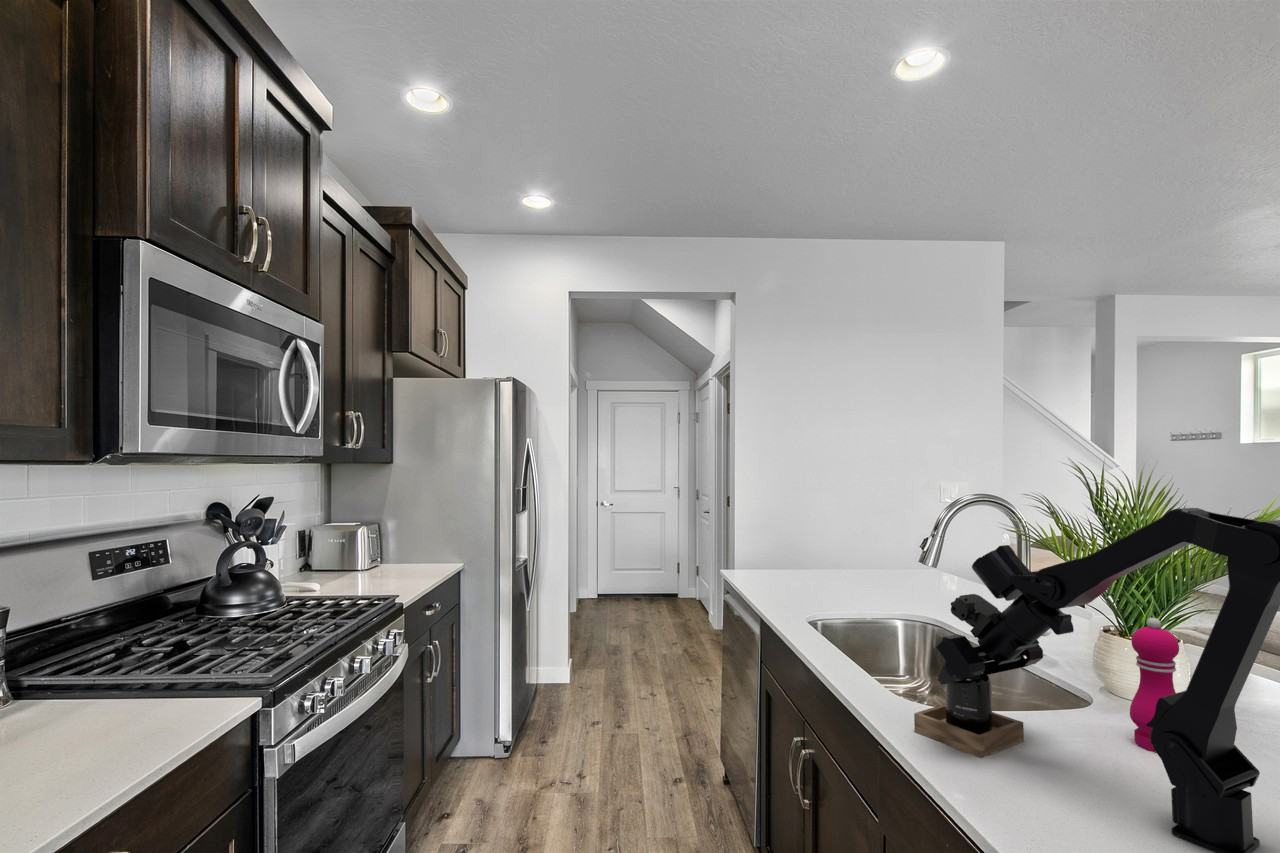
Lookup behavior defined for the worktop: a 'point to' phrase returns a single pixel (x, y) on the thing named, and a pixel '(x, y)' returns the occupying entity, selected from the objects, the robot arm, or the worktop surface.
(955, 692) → the supplement bottle
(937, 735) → the tray
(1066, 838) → the worktop surface
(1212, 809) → the robot arm
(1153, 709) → the pepper mill
